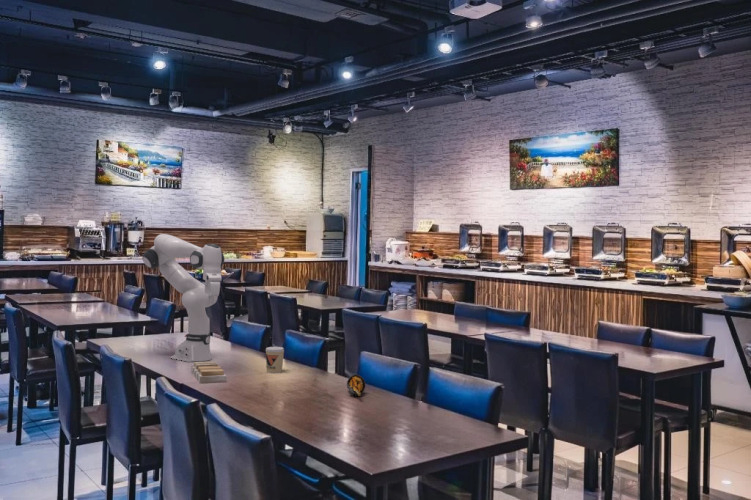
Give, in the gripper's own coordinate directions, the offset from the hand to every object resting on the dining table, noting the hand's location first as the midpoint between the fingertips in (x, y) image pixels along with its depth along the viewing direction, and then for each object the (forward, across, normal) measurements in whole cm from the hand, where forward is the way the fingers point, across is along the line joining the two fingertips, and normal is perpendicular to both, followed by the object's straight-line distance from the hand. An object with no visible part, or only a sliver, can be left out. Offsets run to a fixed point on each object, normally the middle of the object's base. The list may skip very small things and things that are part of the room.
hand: (211, 303), depth 344 cm
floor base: (+34, +11, -3) cm, 36 cm away
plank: (+31, +18, -3) cm, 36 cm away
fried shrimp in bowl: (+34, +68, +52) cm, 92 cm away
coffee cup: (+34, +8, +31) cm, 47 cm away
